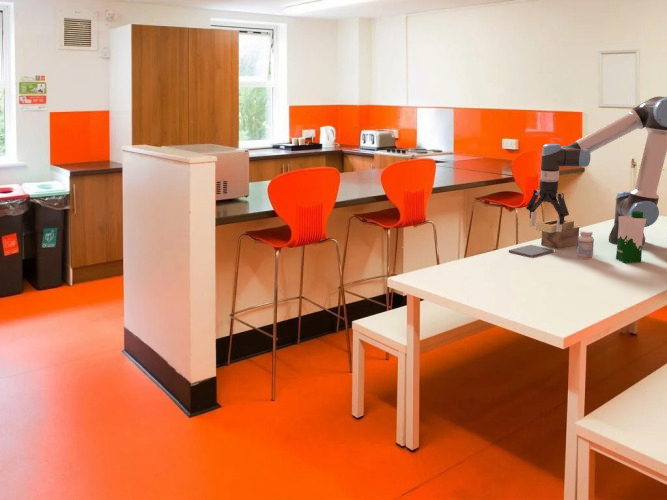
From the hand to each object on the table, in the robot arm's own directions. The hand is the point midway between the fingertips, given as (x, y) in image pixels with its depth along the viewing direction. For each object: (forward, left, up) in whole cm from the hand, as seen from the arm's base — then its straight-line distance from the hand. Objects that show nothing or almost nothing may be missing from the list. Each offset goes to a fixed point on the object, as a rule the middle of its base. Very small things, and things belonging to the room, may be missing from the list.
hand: (545, 228), depth 292 cm
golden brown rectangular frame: (0, -6, -1) cm, 6 cm away
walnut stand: (0, -11, -9) cm, 14 cm away
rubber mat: (0, +9, -9) cm, 13 cm away
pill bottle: (-20, 0, -9) cm, 22 cm away
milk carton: (-34, -9, -9) cm, 36 cm away
